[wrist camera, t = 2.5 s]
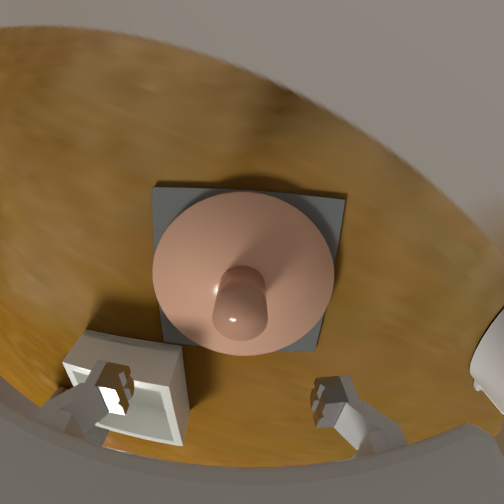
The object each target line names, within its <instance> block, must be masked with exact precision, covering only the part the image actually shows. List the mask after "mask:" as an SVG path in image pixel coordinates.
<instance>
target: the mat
mask: <svg viewBox="0 0 504 504" xmlns="http://www.w3.org/2000/svg"><path fill="white" fill-rule="evenodd" d="M232 191H252V192H260V193H264V194H268V195H272V196H275V197H277V198H280V199H282V200H284V201H286V202H288V203H290V204H291V205H293V206H295V207H296V208H298V209H299V210H300V211H301V212H303V213H304V214H305V215H306V216H307V217H308V218H309V219H310V220H311V221H312V222H313V223H314V224H315V226H316V227H317V228H318V230H319V231H320V233H321V234H322V236H323V237H324V239H325V241H326V243H327V245H328V247H329V250H330V253H331V256H332V260H333V266H334V264H335V259H336V253H337V248H338V242H339V236H340V230H341V224H342V218H343V211H344V205H345V200H344V199H340V198H331V197H322V196H313V195H303V194H292V193H281V192H268V191H255V190H239V189H221V188H198V187H152V212H153V238H154V255H155V252H156V249H157V246H158V244H159V242H160V240H161V237H162V236H163V234H164V233H165V231H166V230H167V228H168V227H169V226H170V224H171V223H172V222H173V221H174V220H175V219H176V218H177V217H178V216H179V215H180V214H181V213H182V212H184V211H185V210H186V209H187V208H189V207H190V206H192V205H193V204H195V203H197V202H198V201H200V200H203V199H205V198H207V197H210V196H213V195H216V194H220V193H225V192H232ZM159 310H160V318H161V326H162V333H163V340H164V342H169V343H177V344H185V345H194V346H201V345H199V344H197V343H195V342H194V341H192V340H190V339H189V338H188V337H186V336H185V335H184V334H182V333H181V332H180V331H179V330H178V329H177V328H176V327H175V326H174V325H173V324H172V323H171V321H170V320H169V319H168V318H167V316H166V315H165V313H164V311H163V310H162V308H161V306H160V304H159ZM323 315H324V313H323ZM323 315H322V317H321V318H320V320H319V321H318V322H317V323H316V325H315V326H314V327H313V328H312V329H311V330H310V331H309V332H308V333H307V334H305V335H304V336H303V337H301V338H300V339H299V340H297V341H296V342H294V343H292V344H290V345H288V346H286V347H284V348H282V349H279V350H276V351H298V352H314V351H315V347H316V344H317V340H318V336H319V332H320V328H321V324H322V319H323Z"/></svg>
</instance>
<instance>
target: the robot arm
mask: <svg viewBox="0 0 504 504" xmlns="http://www.w3.org/2000/svg"><path fill="white" fill-rule="evenodd" d="M130 373H131V370H130V367H129V366H126V365H121V364H117V363H112V362H107V361H103V360H98V361H97V362H96V363H95V365H94V367H93V368H92V370H91V372H90V374H89V375H88V377H87V379H86V381H85V383H82V382H81V383H80V384H78V385H76V386H74V387H72V388H71V389H69V390H67V391H65V392H63V393H61V394H60V395H58V396H56V397H54V398H52V399H50V400H48V401H46V402H45V404H44V406H43V407H42V409H41V411H40V413H39V414H38V416H37V418H36V420H34V419H32V418H30V417H28V416H26V415H24V414H22V413H20V412H18V411H16V410H14V409H12V408H11V407H9V406H7V405H5V404H4V403H2V402H0V504H504V458H503V456H502V454H501V452H500V450H499V448H498V446H497V444H496V442H495V440H494V439H493V437H492V436H491V435H490V434H489V433H488V432H486V431H484V430H482V429H480V428H478V427H476V426H474V425H472V424H463V425H461V426H458V427H456V428H454V429H451V430H449V431H446V432H444V433H441V434H438V435H436V436H433V437H430V438H427V439H425V440H422V441H419V442H415V443H412V444H409V445H408V443H407V441H406V439H405V437H404V434H403V432H402V430H401V428H400V426H399V425H398V424H397V423H395V422H394V421H392V420H391V419H389V418H388V417H386V416H385V415H384V414H382V413H381V412H379V411H378V410H376V409H375V408H373V407H372V406H371V405H369V404H368V403H366V402H365V401H364V400H361V401H360V399H359V396H358V394H357V391H356V389H355V387H354V384H353V382H352V379H351V377H350V376H349V375H343V376H330V377H317V378H316V379H315V382H314V385H315V388H314V389H312V391H311V395H310V405H311V409H312V410H313V411H314V412H315V413H314V416H313V418H314V422H315V427H316V428H322V427H334V428H335V429H336V430H337V431H338V432H339V433H340V434H341V435H342V436H343V437H344V438H345V439H346V440H347V441H348V442H349V443H350V444H351V445H352V446H353V447H354V448H355V449H356V450H357V452H356V453H355V454H354V456H353V457H352V458H351V459H346V460H340V461H334V462H327V463H319V464H310V465H299V466H284V467H224V466H209V465H199V464H190V463H182V462H175V461H168V460H162V459H157V458H151V457H146V456H141V455H137V454H133V453H128V452H124V451H120V450H117V449H113V448H109V447H106V446H102V445H99V444H96V443H93V442H90V441H89V440H88V439H87V437H86V436H85V434H84V433H85V432H86V431H87V430H89V429H90V428H91V427H92V426H94V425H95V424H96V423H97V422H99V421H100V420H101V419H102V418H104V417H105V416H106V415H107V414H108V413H109V412H110V413H115V414H120V415H125V416H126V413H127V410H128V408H129V402H128V400H129V399H131V398H132V397H133V394H134V380H133V378H132V377H131V376H130ZM470 374H471V376H472V377H473V378H474V388H475V389H476V390H477V391H480V390H483V391H484V392H485V394H486V395H487V396H488V397H489V398H490V400H491V401H492V402H493V403H494V404H495V406H496V407H497V408H498V409H499V410H500V412H501V413H502V414H504V309H503V310H502V311H501V313H500V314H499V315H498V316H497V318H496V319H495V320H494V322H493V323H492V324H491V326H490V327H489V329H488V330H487V332H486V333H485V335H484V336H483V338H482V340H481V341H480V343H479V345H478V347H477V349H476V351H475V353H474V355H473V358H472V361H471V365H470Z"/></svg>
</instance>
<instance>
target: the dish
mask: <svg viewBox="0 0 504 504" xmlns="http://www.w3.org/2000/svg"><path fill="white" fill-rule="evenodd" d="M98 360H103V361H107V362H112V363H117V364H121V365H126V366H129V367H130V370H131V373H130V376H131V377H132V378H133V380H134V394H133V397H132V398H131V399H129V400H128V402H129V408H128V410H127V413H126V416H125V415H120V414H115V413H110V412H109V413H108V414H107V415H106V416H105V417H104V418H102V419H101V420H100V421H99V422H97V423H96V424H95V426H98V427H101V428H105V429H108V430H111V431H115V432H118V433H122V434H126V435H130V436H134V437H138V438H142V439H146V440H151V441H156V442H161V443H166V444H172V445H178V446H183V444H184V439H185V433H186V428H187V423H188V418H189V413H190V406H189V400H188V393H187V385H186V378H185V370H184V362H183V353H182V345H175V344H167V343H160V342H153V341H146V340H140V339H134V338H128V337H122V336H116V335H111V334H106V333H101V332H96V331H91V330H87V329H86V330H85V331H84V332H83V334H82V335H81V336H80V338H79V339H78V340H77V342H76V343H75V344H74V346H73V347H72V349H71V350H70V351H69V353H68V354H67V356H66V357H65V358H64V360H63V361H62V363H63V365H64V367H65V369H66V372H67V374H68V376H69V378H70V380H71V382H72V384H73V386H76V385H78V384H80V383H81V382H82V383H85V381H86V379H87V377H88V375H89V374H90V372H91V370H92V368H93V367H94V365H95V363H96V362H97V361H98Z"/></svg>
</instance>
